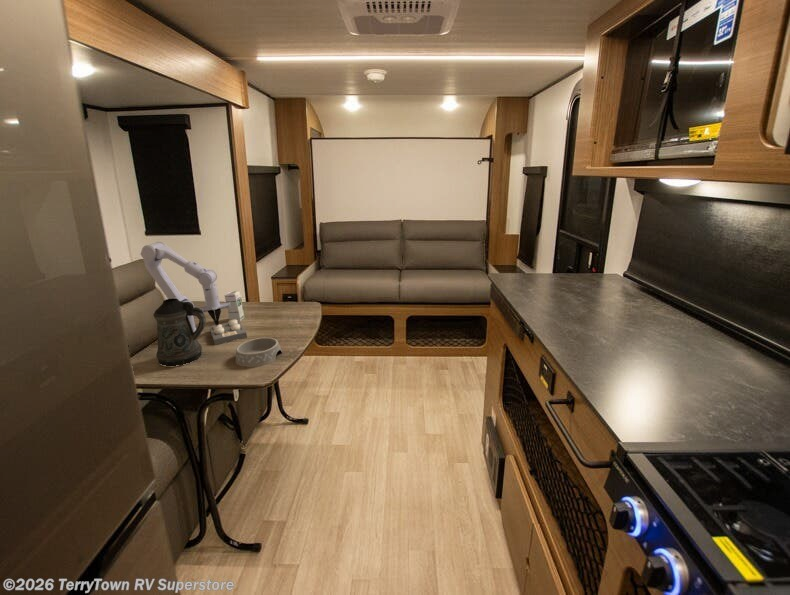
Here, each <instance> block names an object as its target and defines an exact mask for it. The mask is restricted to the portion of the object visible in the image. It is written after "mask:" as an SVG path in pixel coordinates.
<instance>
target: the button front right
mask: <svg viewBox="0 0 790 595" xmlns="http://www.w3.org/2000/svg"><path fill="white" fill-rule="evenodd" d="M237 330H241V328H240V324H233V325H231V331H237Z"/></svg>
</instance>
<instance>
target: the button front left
mask: <svg viewBox="0 0 790 595" xmlns="http://www.w3.org/2000/svg"><path fill="white" fill-rule="evenodd" d="M214 331H215V335H219V334H223V333H225V332H224V328H223V327H219V328H216V329H214Z"/></svg>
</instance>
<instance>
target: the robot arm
mask: <svg viewBox="0 0 790 595" xmlns="http://www.w3.org/2000/svg"><path fill="white" fill-rule="evenodd" d="M140 256H141V257H142V259H143V262H144V267H145V269H146V270H147V272H148V273H149V274H150V276H151V277H152V278H153V280H154V281H155V282H156V284H157V285H158V287H159V288H160V290H161V291H162V292H163V294H164V295H165V297H166V298H167V299H173V298H174V299H178V300H179V301H181V302H190V303H192V304H193V307H194V308H195V304H194V303H193V301H192V300H190V299H189V298H188V297H187V296H185V295H183V294H181V293H180V291H179V289H178V288H177V287H176V286H175V284H174V283H173V281H172V279H171V278H170V277H169V275H168V274H167V273H166V271H165V269H164V268H163V267H162V265H161V264H162V261H163V259H167V260H169V261H170V262H172V263H174V264H176V265H178V266H180V267H181V268H183V269H184V272H185V273H187V274H189V275H190V276H192V277H193V278H195V279H197V280H198V283H199V284H200V285H201V286H202V290H203V295H204V301H205V306H202V307H198V308H199V309H200V310H202V311H203V313H208V315H209V316H210V317H211V319H212V320H213V322H214V325H216V326H217V325H219V324H220V323H219V321H220V317H221V312H222V310H223V309H227V308H231V305H230V303H226V302H224V303H222V302H220V297H219V292H218V288H217V282H216V280H218V279H217V278H218V276H217V273H216V272H215V271H214V270H213V269H208V268H206V267H204V266H202V265H200V264H199V262H198V261H194V260H190V261H189V260H187V259H186V258H184V257H183V256H181V255H180V254H179V253H177V252H176V251H174V250H173V249H172V248H171V247H170V245H167V244H165V243H164V242H163V241H156V242H154V243H152V244H151V243H150V244H146V245H144V246H143V247H142V248H141V252H140ZM194 317H195V316H194V315H192V316H188V319H189V321H190V324H191V326H192V329H193V332H195V331H196V329H197V327H196V322H195V318H194Z"/></svg>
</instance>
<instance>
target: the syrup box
mask: <svg viewBox="0 0 790 595" xmlns="http://www.w3.org/2000/svg"><path fill="white" fill-rule="evenodd" d="M224 300H225V303H230V305H231V308H226V310H227V314H228V321H230V320H234V319H235V320H237V321H238V320H239V321H240V322H241V321H242V320H244V319H245V318H246V317H245V313H244V312H245V311H244V307H243V301H242V296H241V291H240V290H232V291H228V292H227V293H226V294H224Z"/></svg>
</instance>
